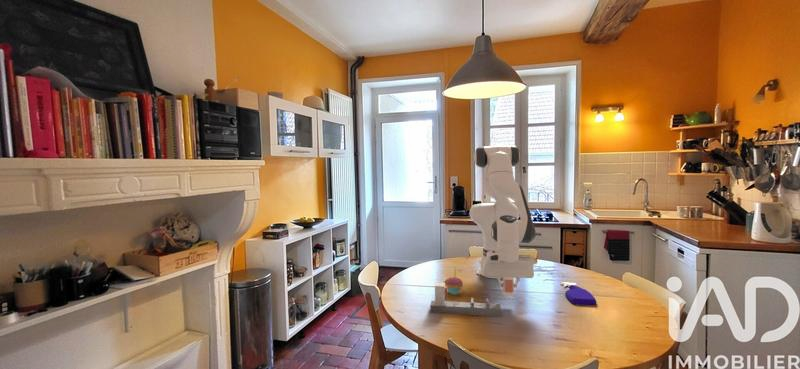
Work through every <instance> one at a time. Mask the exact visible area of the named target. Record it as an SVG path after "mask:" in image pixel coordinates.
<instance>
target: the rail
mask: <svg viewBox="0 0 800 369" xmlns="http://www.w3.org/2000/svg"><path fill="white" fill-rule="evenodd" d="M474 300H475V298H474V297H471V298H470V302H468V301H448V289H447V286H445V282H435V285H434V300H431V301H430V305H429V308H430V313H434V314H450V315H465V316H467V315H470V316H485V317H486V316H488V317H502V308H501V305H500V303H490V302H489V301H490V300H489V298H485V302H475V301H474Z"/></svg>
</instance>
